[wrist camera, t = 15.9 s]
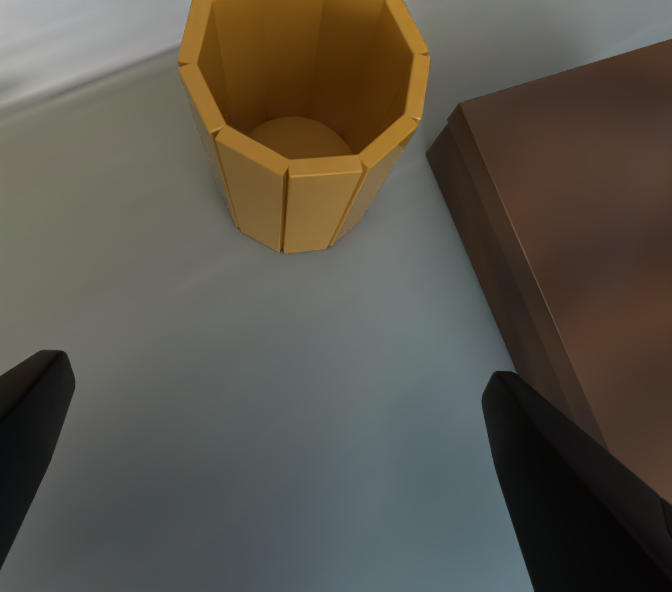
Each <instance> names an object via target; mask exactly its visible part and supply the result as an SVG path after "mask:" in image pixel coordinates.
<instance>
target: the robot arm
mask: <svg viewBox="0 0 672 592" xmlns="http://www.w3.org/2000/svg"><path fill="white" fill-rule="evenodd" d="M74 390H75V377H74V374H73V371H72V368H71V364H70V361H69V358H68V356H67V354H66V353H65V352H64V351H61V350H41V351H39V352H37V353H35V354H34V355H32V356H31V357H29V358H28V359H26V360H24V361H23V362H21V363H20V364H18V365H17V366H15V367H14V368H12V369H10V370H9V371H7V372H6V373H4V374H3V375H1V376H0V570H1V568H2V565H3V563H4V561H5V559H6V557H7V555H8V553H9V550H10V548H11V546H12V544H13V542H14V540H15V537H16V535H17V533H18V531H19V529H20V527H21V525H22V522H23V520H24V518H25V516H26V514H27V512H28V509H29V507H30V505H31V503H32V501H33V499H34V497H35V494H36V492H37V490H38V488H39V486H40V484H41V481H42V479H43V477H44V475H45V473H46V470H47V468H48V466H49V464H50V461H51V459H52V456H53V453H54V450H55V447H56V444H57V441H58V438H59V435H60V432H61V429H62V426H63V423H64V420H65V417H66V414H67V411H68V408H69V405H70V402H71V399H72V396H73V393H74ZM482 409H483V414H484V419H485V424H486V428H487V433H488V438H489V443H490V448H491V453H492V457H493V462H494V466H495V470H496V473H497V477H498V480H499V483H500V486H501V489H502V492H503V495H504V499H505V502H506V505H507V508H508V511H509V514H510V517H511V520H512V524H513V527H514V530H515V533H516V536H517V539H518V542H519V545H520V549H521V552H522V555H523V558H524V561H525V564H526V567H527V570H528V573H529V577H530V580H531V583H532V586H533V589H534V592H672V505H671V504H670V503H669V502H668V501H667V500H665V499H664V498H660V495H659V494H658V493H657V492H656V491H655V490H653V489H652V488H651V487H650V486H649V485H647V484H646V483H645V482H644V481H643V480H642V479H640V478H639V477H638V476H637V475H636V474H634V473H633V472H632V471H631V470H630V469H628V468H627V467H626V466H625V465H624V464H623V463H621V462H620V461H619V460H618V459H617V458H615V457H614V456H613V455H612V454H611V453H609V452H608V451H607V450H606V449H605V448H604V447H602V446H601V445H600V444H599V443H598V442H596V441H595V440H594V439H593V438H592V437H591V436H589V435H588V434H587V433H586V432H585V431H583V430H582V429H581V428H580V427H579V426H577V425H576V424H575V423H574V422H573V421H572V420H570V419H569V418H568V417H567V416H566V415H564V414H563V413H562V412H561V411H560V410H558V409H557V408H556V407H555V406H554V405H553V404H551V403H550V402H549V401H548V400H547V399H545V398H544V397H543V396H542V395H541V394H539V393H538V392H537V391H536V390H535V389H534V388H532V387H531V386H530V385H529V384H528V383H526V382H525V381H524V380H523V379H522V378H521V377H519V376H518V375H517V374H516V373H514V372H511V371H496V372H494V373H493V374H492V376H491V378H490V380H489V382H488V384H487V386H486V388H485V390H484V392H483V395H482Z"/></svg>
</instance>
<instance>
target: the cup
mask: <svg viewBox="0 0 672 592" xmlns="http://www.w3.org/2000/svg"><path fill="white" fill-rule="evenodd" d="M428 52H429V48H428V47H427V45H426V43H425V41H424V39H423V37H422V35H421V33H420V31H419V30H418V28H417V26H416V24H415V22H414V20H413V18H412V16H411V15H410V13H409V11H408V9H407V7H406V5H405V3H404V1H403V0H192V3H191V7H190V11H189V15H188V19H187V23H186V27H185V31H184V35H183V38H182V42H181V46H180V50H179V54H178V58H177V62H178V65H179V68H178V71H179V74H180V77H181V80H182V83H183V86H184V89H185V92H186V95H187V98H188V101H189V104H190V107H191V110H192V113H193V116H194V119H195V122H196V125H197V128H198V131H199V134H200V137H201V140H202V143H203V146H204V149H205V152H206V155H207V158H208V161H209V164H210V167H211V169H212V172H213V175H214V178H215V181H216V184H217V187H218V190H219V192H220V195H221V197H222V199H223V201H224V203H225V205H226V207H227V209H228V211H229V213H230V215H231V217H232V220H233V222H234V224H235V226H236V228H239V229H240V232H241V233H243V234H245V235H247V236H249V237H251V238H252V239H254V240H256V241H258V242H260V243H262V244H264V245H265V246H267V247H269V248H271V249H273V250H275V251H276V252H280V251H281V249H282V248H283V253H284V254H287V253H296V252H305V251H315V250H324V249H327V247H328V245H329V246H330V247H332V246H333V245H334V244H335V243H336V242H337V241H338V240H339V239H340V238H342V237H343V236H344V235H345V234H346V233H347V232H348V231H349V230H350V229H351V228H352V227H353V226H355V225H356V224H357V223H358V222H359V221H360V220H361V218H362V217H363V215H364V213H365V212H366V210H367V208H368V207H369V205H370V203H371V202H372V200H373V199H374V197H375V195H376V194H377V192H378V190H379V189H380V187H381V186H382V184H383V182H384V181H385V179H386V177H387V176H388V174H389V172H390V171H391V169H392V168H393V166H394V164H395V163H396V161H397V159H398V158H399V156H400V155H401V153H402V151H403V150H404V148H405V146H406V145H407V143H408V141H409V140H410V138H411V137H412V135H413V133H414V132H415V130H416V128H417V127H418V124H419V122H420V121H421V119H422V114H423V108H424V101H425V94H426V87H427V80H428V73H429V67H430V60H431V59H430V57H429V56H427V54H428Z"/></svg>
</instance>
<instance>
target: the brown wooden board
mask: <svg viewBox="0 0 672 592" xmlns="http://www.w3.org/2000/svg"><path fill="white" fill-rule="evenodd" d="M447 121H448V124H447V125H446V127H445V128H444V129H443V131H442V132H441V133H440V135H439V136H438V137H437V139H436V140H435V142H434V143H433V144H432V146H431V147H430V148H429V150H428V151H427V152H426V156H427V158H428V161H429V163H430V165H431V168H432V170H433V172H434V175H435V177H436V180H437V182H438V184H439V187H440V189H441V192H442V194H443V196H444V199H445V201H446V203H447V206H448V208H449V211H450V213H451V215H452V218H453V220H454V223H455V225H456V227H457V230H458V232H459V234H460V237H461V239H462V242H463V244H464V246H465V249H466V251H467V253H468V256H469V258H470V261H471V263H472V265H473V268H474V270H475V273H476V275H477V277H478V280H479V282H480V284H481V287H482V289H483V292H484V294H485V296H486V299H487V301H488V304H489V306H490V308H491V311H492V313H493V315H494V318H495V320H496V323H497V325H498V327H499V330H500V332H501V335H502V337H503V339H504V342H505V344H506V346H507V349H508V351H509V354H510V356H511V358H512V361H513V363H514V366H515V368H516V370H517V373H518V375H519V377H521V378H522V379H523V380H524V381H525V382H526V383H528V384H529V385H530V386H531V387H532V388H534V389H535V390H536V391H537V392H538V393H539V394H541V395H542V396H543V397H544V398H545V399H547V400H548V401H549V402H550V403H551V404H553V405H554V406H555V407H556V408H557V409H558V410H560V411H561V412H562V413H563V414H564V415H566V416H567V417H568V418H569V419H570V420H572V421H573V422H574V423H575V424H576V425H577V426H579V427H580V428H581V429H582V430H583V431H585V432H586V433H587V434H588V435H589V436H591V437H592V438H593V439H594V440H595V441H596V442H598V443H599V444H600V445H601V446H602V447H604V448H605V449H606V450H607V451H608V452H609V453H611V454H612V455H613V456H614V457H615V458H617V459H618V460H619V461H620V462H621V463H623V464H624V465H625V466H626V467H627V468H628V469H630V470H631V471H632V472H633V473H634V474H636V475H637V476H638V477H639V478H640V479H642V480H643V481H644V482H645V483H646V484H647V485H649V486H650V487H651V488H652V489H653V490H655V491H656V492H657V493H658V494H659V495H660V498H664V499H665V500H667V501H668V502H669V503H670V504H671V505H672V39H670V40H666V41H663V42H660V43H656V44H653V45H650V46H647V47H643V48H640V49H637V50H633V51H630V52H627V53H623V54H620V55H617V56H613V57H610V58H607V59H603V60H600V61H597V62H593V63H590V64H587V65H584V66H580V67H577V68H574V69H570V70H567V71H564V72H560V73H557V74H554V75H550V76H547V77H544V78H540V79H537V80H534V81H531V82H527V83H524V84H521V85H517V86H514V87H511V88H507V89H504V90H501V91H497V92H494V93H491V94H487V95H484V96H481V97H478V98H474V99H471V100H468V101H464V102H461V103H459V104H458V105H457V107H456V108H455V109H454V111H453V112H452V114H451V115H450V116H449V118H448V119H447Z"/></svg>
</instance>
